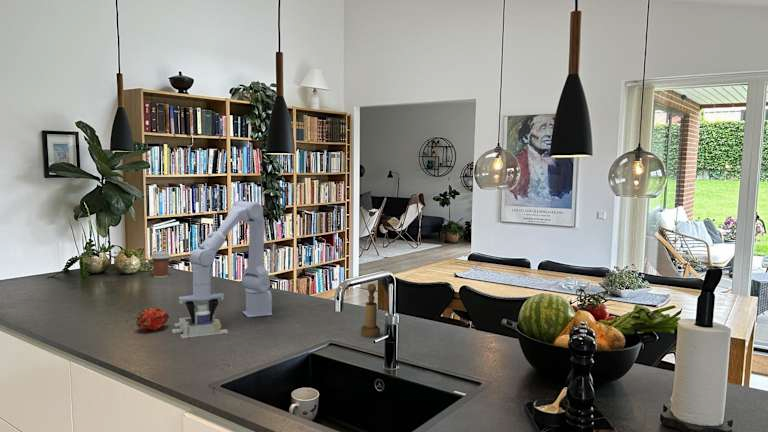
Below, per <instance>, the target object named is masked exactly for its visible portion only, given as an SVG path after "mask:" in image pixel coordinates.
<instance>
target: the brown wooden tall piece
mask: <svg viewBox="0 0 768 432" xmlns="http://www.w3.org/2000/svg"><path fill="white" fill-rule="evenodd" d="M376 290H377V285H376V284H375V283H369V284H368V285H367V291H368V293H369V295H368V297H367V299H368V302H366V303H365V313H364V316H365V318H364V319H365V320H364V325H363V326H362V327H360V335H361V336H362V337H364V338H369V339H371V338H372V339H373V338H378V337H379V335H381V328H380V327H379V326H378V325H377V315H378V314H377V313H378V312H377V311H378V310H377V309H378V303H377V302H374V301H375V298H376V297H375V292H376Z"/></svg>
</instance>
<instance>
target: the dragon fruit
mask: <svg viewBox="0 0 768 432" xmlns="http://www.w3.org/2000/svg"><path fill="white" fill-rule="evenodd" d="M168 319H170V317H169V315H168V313H167V312H165V310H162V309H160V307H159V306H156V307H155V308H152V307H149V308H147V309H144V308H143V309H142V310H141V311H140V312H139V313H138V314H137V316H136V325H137V326H138V328H139V329H140V330H143V329H144V331H145V332H148V331H149V330H150V331H154V332H155V331H157V330H159V329H160V330H162V329H163V328H165V326H164V325H166V323H167V321H168Z"/></svg>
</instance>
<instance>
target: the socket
mask: <svg viewBox="0 0 768 432" xmlns="http://www.w3.org/2000/svg"><path fill="white" fill-rule="evenodd" d="M215 317H216V316H215V314H213V318H212V321H210V323H205V324H195V325H194V323H192V322H191V316H189V317H187V316H186V317H181V318H178V323H177V322H176V323H174V327H175V329H174V328H173V329H171V333H172V334H178V333H182V332H183V333H182V334H180V339H188V337H190V338H196V337H197V336H198V337H204V336H205V337H206V336H212V335H213V336H215V335H222V334H228V333H229V331H228V329H225V328H224V329H222V324H221V322H220V319H219V318H215ZM198 337H197V338H198Z"/></svg>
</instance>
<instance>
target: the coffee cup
mask: <svg viewBox="0 0 768 432" xmlns="http://www.w3.org/2000/svg"><path fill="white" fill-rule="evenodd" d="M150 258H151V259H152V269H153V277H154V278H159V279H161V278H167V277H168V276H169V266H170V265H169V264H170V258H171V254H169V251H154V252H153V253H152V255H151V256H150Z"/></svg>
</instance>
